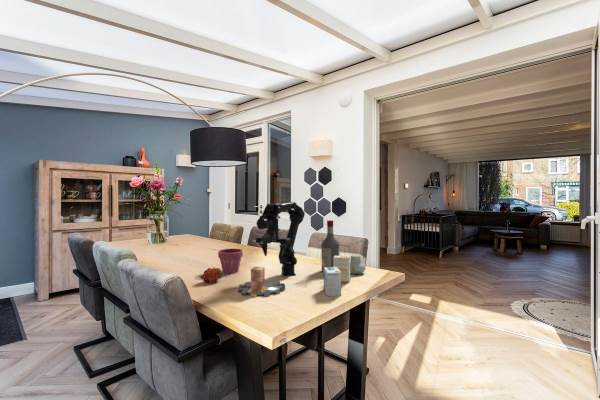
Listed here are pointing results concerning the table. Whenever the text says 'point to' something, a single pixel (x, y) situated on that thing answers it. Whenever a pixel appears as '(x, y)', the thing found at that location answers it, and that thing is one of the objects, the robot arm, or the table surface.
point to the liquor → (329, 247)
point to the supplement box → (343, 267)
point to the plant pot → (230, 260)
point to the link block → (257, 278)
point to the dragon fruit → (211, 275)
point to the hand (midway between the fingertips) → (273, 256)
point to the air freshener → (356, 265)
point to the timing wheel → (269, 289)
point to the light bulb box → (332, 281)
